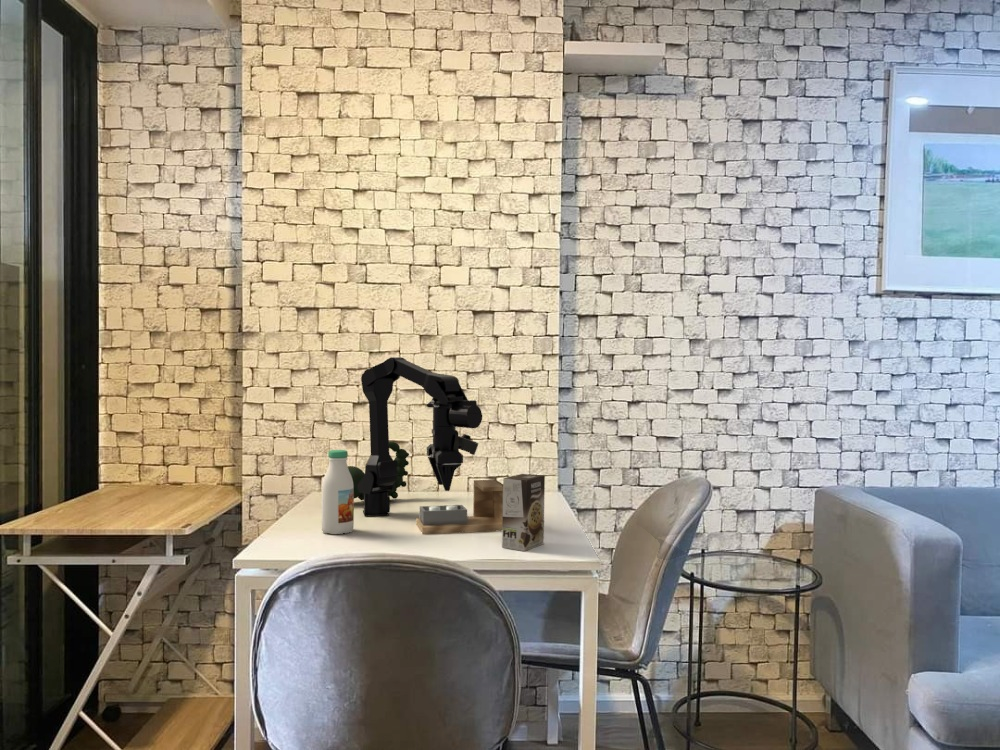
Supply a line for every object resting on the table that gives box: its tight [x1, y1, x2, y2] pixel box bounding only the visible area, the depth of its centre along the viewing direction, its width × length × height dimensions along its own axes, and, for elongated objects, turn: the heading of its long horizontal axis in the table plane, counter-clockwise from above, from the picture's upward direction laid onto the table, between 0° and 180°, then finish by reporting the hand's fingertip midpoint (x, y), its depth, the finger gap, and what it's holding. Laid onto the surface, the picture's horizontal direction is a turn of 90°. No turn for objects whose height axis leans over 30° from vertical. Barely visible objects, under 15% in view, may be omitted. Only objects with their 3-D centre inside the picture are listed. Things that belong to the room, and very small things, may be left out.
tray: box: [419, 504, 468, 526], centre depth 199 cm, size 11×6×4 cm, turn 104°
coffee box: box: [501, 473, 546, 552], centre depth 181 cm, size 9×6×16 cm
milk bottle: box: [321, 449, 355, 535], centre depth 193 cm, size 8×8×20 cm
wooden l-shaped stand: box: [415, 479, 503, 535], centre depth 200 cm, size 21×11×11 cm, turn 104°
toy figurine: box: [347, 440, 410, 501], centre depth 231 cm, size 9×19×25 cm
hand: (443, 487), depth 198 cm, fingers open, 9 cm apart
